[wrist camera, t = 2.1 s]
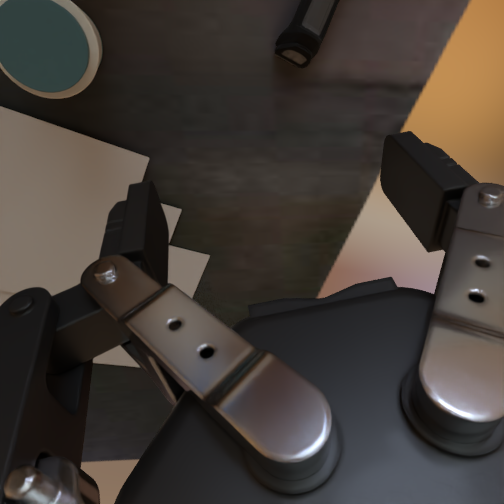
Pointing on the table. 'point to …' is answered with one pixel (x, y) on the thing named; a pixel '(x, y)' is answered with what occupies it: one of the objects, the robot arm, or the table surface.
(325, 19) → the electric trimmer
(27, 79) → the bottle with teal cap
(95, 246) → the paper stack
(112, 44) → the table surface
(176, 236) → the table surface
